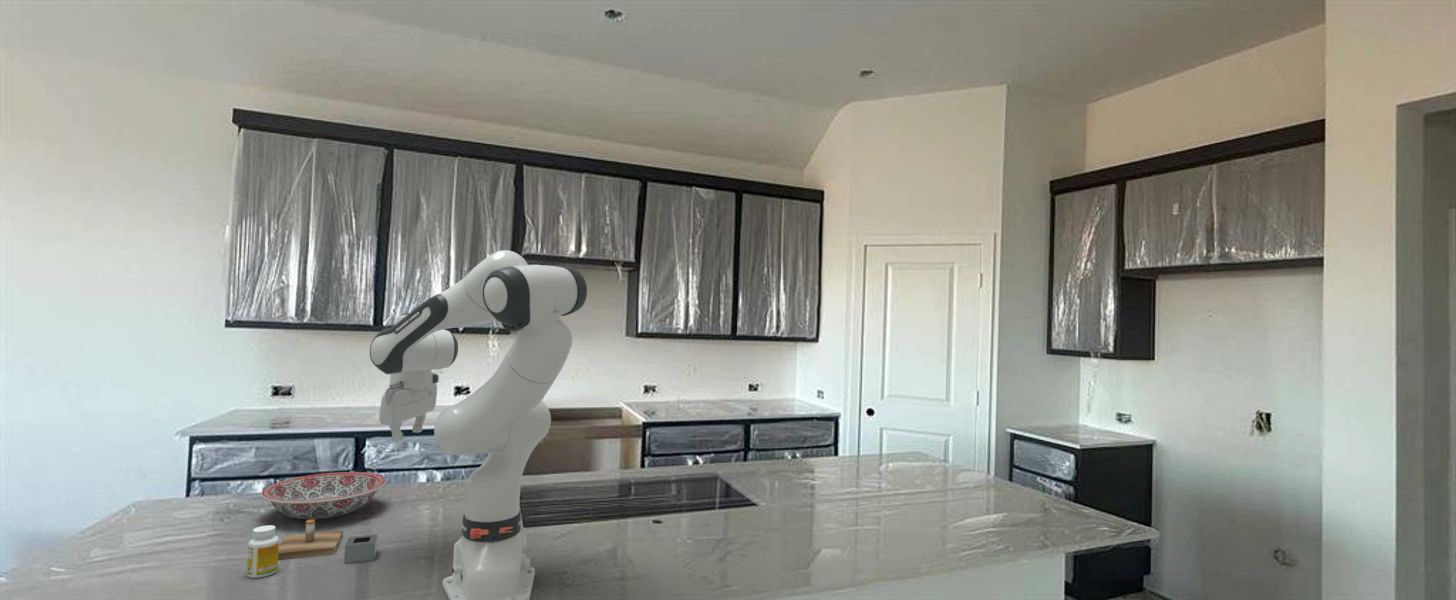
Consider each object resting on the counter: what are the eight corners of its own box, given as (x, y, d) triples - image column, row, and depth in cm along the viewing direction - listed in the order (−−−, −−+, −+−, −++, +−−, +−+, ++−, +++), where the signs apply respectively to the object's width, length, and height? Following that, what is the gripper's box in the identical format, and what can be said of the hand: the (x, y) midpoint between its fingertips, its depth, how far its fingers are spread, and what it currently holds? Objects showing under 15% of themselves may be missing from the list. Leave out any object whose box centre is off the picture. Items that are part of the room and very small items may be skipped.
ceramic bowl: (377, 527, 167) (378, 496, 167) (243, 538, 157) (244, 505, 157) (391, 495, 194) (392, 469, 195) (277, 503, 184) (278, 475, 184)
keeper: (334, 553, 149) (335, 526, 149) (272, 560, 144) (273, 531, 144) (342, 536, 160) (343, 510, 160) (285, 541, 155) (286, 515, 155)
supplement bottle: (283, 568, 140) (285, 524, 140) (266, 578, 135) (268, 532, 135) (258, 568, 140) (260, 523, 140) (240, 578, 135) (242, 532, 135)
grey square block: (374, 560, 146) (375, 543, 146) (344, 563, 144) (344, 546, 144) (377, 550, 151) (378, 534, 152) (348, 554, 149) (349, 536, 149)
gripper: (400, 386, 144) (397, 447, 144) (442, 374, 164) (439, 428, 164) (373, 384, 144) (370, 445, 144) (418, 373, 164) (415, 427, 164)
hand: (407, 436), depth 154 cm, fingers open, 8 cm apart
